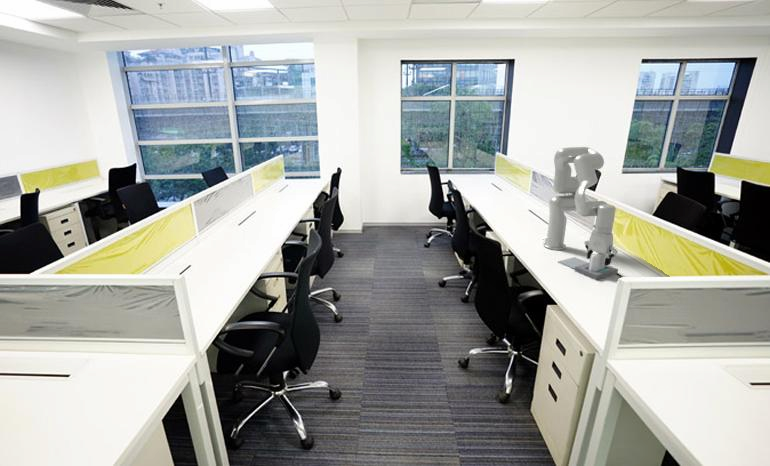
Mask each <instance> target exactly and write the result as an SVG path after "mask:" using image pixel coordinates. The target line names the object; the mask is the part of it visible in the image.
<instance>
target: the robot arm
mask: <svg viewBox="0 0 770 466" xmlns="http://www.w3.org/2000/svg"><path fill="white" fill-rule="evenodd" d="M553 162H554V169H555V170H554V181H553V190H554V193H555V194H559V195H555V196H553V197H551V198H550V199H549V202H548V206H549V207H548V208H549V219H548V225H547V226H548V227H547V235H544V236H543V237H542V238H541V239H542V240H543V241H544V242H543V245H542V246H543V247H544V248H546V249H549V250H554V251H562V250H565V249H566V248H567V245H566V244H565V237H566V229H567V228H566V227H567V219H568V218H567V216H566V214H565V212H577V214H578V215H580V216H581V217H584V218H585V217H596V218H595V224H592V225H593V226H592V227H593V228H594V229H593V230H592V231H591V233H590V236H589V239H588V240H586V241H583V242H584V245H585V246H584V247H585V248H586V251H587V254H586V259H587V260H590V256H591V254H592V253H593V252H594V251H596V252H599V253H602V254H605V255H606V258H605V264H604V265H609V266H611V263H612V258H614V257H615V256H617V254H618V253H619V250H617V249H616V248H615V247H614V246H613V245H614V234H613V228H614V222H615V215H616V210H617V208H616V206H614V205H612V204H609V203H607V202H606V201H605V200H604V201H603V200H593V201H591V200H590V201H586V196H585V193H586V190H587V189H588V188H590V187H592V186H595V184H597V183H598V180H599V179H598V177H597V173H596V170H601V168H603V166H604V163H605V160H604V157H603V155H602V154H601V153H599V152H598V151H596V150H594V149H592V148H590V147H588V146H574V147H573V146H572V147H570V146H569V147H563V148H560V149H558V150H557V151H556V152H555V154H554V158H553ZM570 164H573V165H574V170H575V173H576V176H572V167H571V165H570ZM560 194H561V195H560ZM562 194H564V195H562ZM565 194H566V195H565Z"/></svg>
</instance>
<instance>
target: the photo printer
mask: <svg viewBox="0 0 770 466" xmlns="http://www.w3.org/2000/svg"><path fill="white" fill-rule="evenodd" d="M605 258H607V257H606V255H605V254H602V253H599V252H596V251H593V253H592V254H591V256H590V259H589V262H588V263H589V268H588V270H590V271H592V272H596V271H600V270H603V269H604V268H605V265H604V264H605Z"/></svg>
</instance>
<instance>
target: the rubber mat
mask: <svg viewBox="0 0 770 466" xmlns="http://www.w3.org/2000/svg"><path fill="white" fill-rule="evenodd" d="M557 263H558V264H561V265H563V266H565V267H568V268H570V269H573V270H575V267H576V266H580V265H583V264H587V263H589V262H588V261H585V260H584V259H580V258H578V257H575V256H574V257H570V258H565V259H562V260H560V261H557Z"/></svg>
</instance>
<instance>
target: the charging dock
mask: <svg viewBox="0 0 770 466" xmlns="http://www.w3.org/2000/svg"><path fill="white" fill-rule="evenodd" d="M588 268H589V262H588V263H587V264H583V265H580V266H576V267H575V269H574V272H576V273H579V274H580V275H583V276H585V277H588V278H590V279H592V280H593V281H597V280H600V279H605V278H607V277H611V276H615V275H616V274H618V273H619V268H616V267H613V266H611V265H605V268H604V269H603V270H600V271H596V272H592V271H590V270H588Z"/></svg>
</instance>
